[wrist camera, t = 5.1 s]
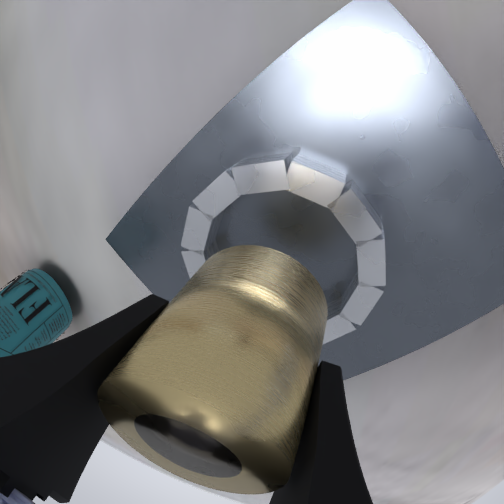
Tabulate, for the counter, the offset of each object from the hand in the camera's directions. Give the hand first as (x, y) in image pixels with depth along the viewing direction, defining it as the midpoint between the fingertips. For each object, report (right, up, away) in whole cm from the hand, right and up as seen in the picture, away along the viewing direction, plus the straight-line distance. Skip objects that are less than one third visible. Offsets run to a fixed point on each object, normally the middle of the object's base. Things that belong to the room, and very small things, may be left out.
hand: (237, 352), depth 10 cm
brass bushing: (+1, +1, +2) cm, 2 cm away
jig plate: (+4, +3, +6) cm, 8 cm away
